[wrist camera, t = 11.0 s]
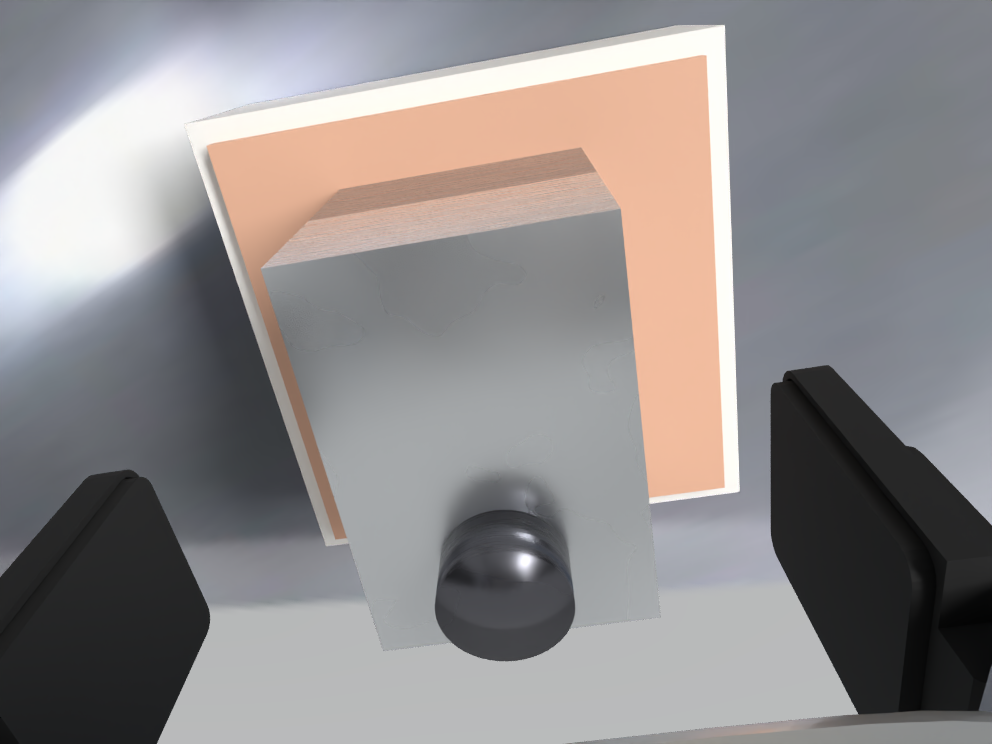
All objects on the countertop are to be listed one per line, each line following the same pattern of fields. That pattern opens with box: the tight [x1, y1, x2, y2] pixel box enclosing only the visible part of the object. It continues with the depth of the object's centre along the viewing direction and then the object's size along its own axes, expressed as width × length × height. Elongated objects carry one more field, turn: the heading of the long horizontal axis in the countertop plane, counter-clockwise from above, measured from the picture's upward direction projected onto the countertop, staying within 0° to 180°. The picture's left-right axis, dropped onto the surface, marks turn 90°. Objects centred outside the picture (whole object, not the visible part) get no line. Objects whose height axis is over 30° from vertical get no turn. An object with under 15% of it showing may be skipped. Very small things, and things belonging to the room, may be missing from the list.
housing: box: [261, 147, 661, 661], centre depth 15 cm, size 8×6×7 cm
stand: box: [184, 25, 739, 547], centre depth 20 cm, size 12×12×5 cm
